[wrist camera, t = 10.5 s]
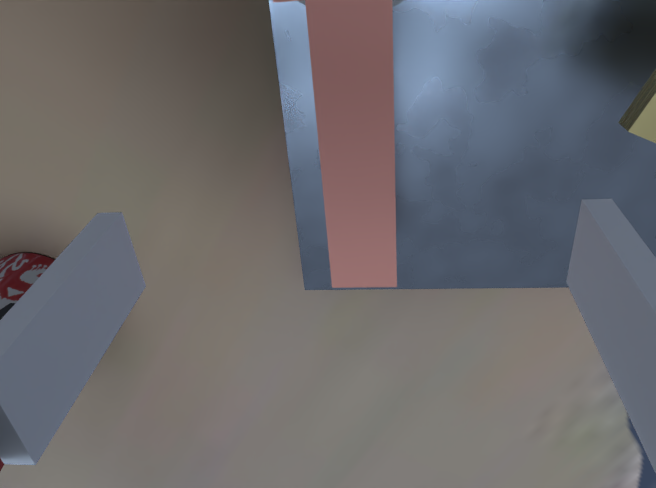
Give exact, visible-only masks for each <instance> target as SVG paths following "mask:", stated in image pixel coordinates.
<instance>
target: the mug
mask: <svg viewBox="0 0 656 488" xmlns="http://www.w3.org/2000/svg"><path fill="white" fill-rule="evenodd" d="M54 261H55V260H54V259H51V258H49V257H46V256H43V255H39V254H34V253H16V254H12V255H9V256H6V257H4V258H2V259H1V260H0V310H1V309H2V308H4V307H5V306H7V305H8V304H10V303H16V302H17V301H18V300H19V299H20V298H21V297H22V296H23V295H24V294H25V292H26V291H27V290H28V289H29V288H30V287H31V286H32V285H33V284H34V283H35V281H36V280H37V279H38V278H39V277H40V276H41V275H42V274H43V273H44V272H45V270H46V269H47V268H48V267H49V266H50V265H51V264H52V263H53V262H54ZM3 466H4V463H3V462H2V460H1V459H0V471H1V469H2V467H3Z"/></svg>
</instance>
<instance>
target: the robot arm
mask: <svg viewBox="0 0 656 488" xmlns="http://www.w3.org/2000/svg"><path fill="white" fill-rule="evenodd" d="M566 282H567V285H568V287H569V289H570V291H571V293H572V295H573V297H574V299H575V302H576V304H577V306H578V308H579V310H580V312H581V314H582V317H583V319H584V321H585V323H586V325H587V327H588V329H589V332H590V334H591V336H592V338H593V340H594V342H595V344H596V347H597V349H598V351H599V353H600V355H601V357H602V359H603V362H604V364H605V366H606V368H607V370H608V372H609V374H610V377H611V379H612V381H613V383H614V385H615V387H616V389H617V392H618V394H619V396H620V398H621V400H622V402H623V404H624V406H625V409H626V411H627V413H628V415H629V417H630V419H631V421H632V424H633V426H634V428H635V430H636V432H637V434H638V436H639V439H640V441H641V443H642V445H643V447H644V449H645V451H646V454H647V456H648V458H649V460H650V462H651V464H652V466H653V468H654V471H655V473H656V257H655V256H654V255H653V253H652V252H651V251H650V249H649V248H648V247H647V245H646V244H645V243H644V241H643V240H642V239H641V237H640V236H639V235H638V233H637V232H636V231H635V229H634V228H633V227H632V225H631V224H630V223H629V221H628V220H627V219H626V217H625V216H624V214H623V213H622V212H621V210H620V209H619V208H618V206H617V205H616V204H615V202H614V201H613V200H612V199H582V201H581V206H580V212H579V217H578V222H577V227H576V233H575V238H574V243H573V248H572V254H571V259H570V264H569V269H568V275H567V280H566ZM145 287H146V285H145V282H144V279H143V276H142V273H141V270H140V266H139V263H138V260H137V257H136V254H135V251H134V248H133V245H132V242H131V239H130V235H129V232H128V229H127V226H126V223H125V220H124V217H123V214H122V212H115V213H97V215H96V216H95V217H94V218H93V219H92V220H91V221H90V222H89V223H88V224H87V225H86V227H85V228H84V229H83V230H82V231H81V232H80V233H79V234H78V235H77V236H76V238H75V239H74V240H73V241H72V242H71V243H70V244H69V245H68V246H67V247H66V249H65V250H64V251H63V252H62V253H61V254H60V255H59V256H58V257H57V258H56V260H55V261H54V262H53V263H52V264H51V265H50V266H49V267H48V268H47V269H46V270H45V272H44V273H43V274H42V275H41V276H40V277H39V278H38V279H37V280H36V281H35V283H34V284H33V285H32V286H31V287H30V288H29V289H28V290H27V291H26V292H25V294H24V295H23V296H22V297H21V298H20V299H19V300H18V301H17V302H16V303H10V304H8V305H7V306H5V307H4V308H2V309H1V310H0V459H1V460H2V462H3V463H4V464H20V465H36V463H37V462H38V460H39V459H40V457H41V455H42V454H43V452H44V450H45V449H46V447H47V446H48V444H49V442H50V441H51V439H52V438H53V436H54V434H55V433H56V431H57V429H58V428H59V426H60V425H61V423H62V421H63V420H64V418H65V416H66V415H67V413H68V412H69V410H70V408H71V407H72V405H73V403H74V402H75V400H76V399H77V397H78V395H79V394H80V392H81V391H82V389H83V387H84V386H85V384H86V382H87V381H88V379H89V378H90V376H91V374H92V373H93V371H94V369H95V368H96V366H97V365H98V363H99V361H100V360H101V358H102V356H103V355H104V353H105V352H106V350H107V348H108V347H109V345H110V343H111V342H112V340H113V339H114V337H115V335H116V334H117V332H118V331H119V329H120V327H121V326H122V324H123V322H124V321H125V319H126V318H127V316H128V314H129V313H130V311H131V309H132V308H133V306H134V305H135V303H136V301H137V300H138V298H139V296H140V295H141V293H142V292H143V290H144V288H145Z"/></svg>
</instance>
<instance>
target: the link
mask: <svg viewBox="0 0 656 488" xmlns="http://www.w3.org/2000/svg"><path fill="white" fill-rule="evenodd" d="M287 1H301V0H273V3H274V2H287ZM305 5H306V16H307V26H308V37H309V48H310V58H311V69H312V80H313V90H314V101H315V111H316V122H317V133H318V143H319V154H320V165H321V175H322V186H323V197H324V207H325V218H326V228H327V239H328V250H329V260H330V271H331V282H332V288H354V287H397V261H396V199H395V136H394V74H393V12H392V0H305Z"/></svg>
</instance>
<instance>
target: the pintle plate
mask: <svg viewBox="0 0 656 488" xmlns="http://www.w3.org/2000/svg"><path fill="white" fill-rule="evenodd" d="M269 7H270V15H271V23H272V31H273V39H274V47H275V55H276V63H277V71H278V79H279V87H280V95H281V103H282V111H283V119H284V127H285V135H286V143H287V151H288V159H289V167H290V175H291V183H292V191H293V199H294V207H295V215H296V223H297V231H298V239H299V247H300V255H301V263H302V271H303V279H304V287H305V290H346V289H449V288H552V287H568V285H567V282H566V280H567V275H568V269H569V264H570V259H571V254H572V248H573V243H574V238H575V233H576V227H577V222H578V217H579V212H580V206H581V201H582V199H612V200H613V201H614V202H615V204H616V205H617V206H618V208H619V209H620V210H621V212H622V213H623V214H624V216H625V217H626V219H627V220H628V221H629V223H630V224H631V225H632V227H633V228H634V229H635V231H636V232H637V233H638V235H639V236H640V237H641V239H642V240H643V241H644V243H645V244H646V245H647V247H648V248H649V249H650V251H651V252H652V253H653V255H654V256H655V257H656V143H654V142H652V141H649V140H647V139H644V138H642V137H640V136H637V135H635V134H633V133H630V132H628V131H627V130H626V129H625V128H624V127H622V126H621V125H620V124H619V123H618V122H619V121H620V119H621V118H622V116H623V115H624V113H625V112H626V111H627V109H628V108H629V106H630V105H631V103H632V102H633V100H634V99H635V98H636V96H637V95H638V93H639V92H640V90H641V89H642V88H643V86H644V85H645V83H646V82H647V80H648V79H649V78H650V76H651V75H652V73H653V72H654V70H655V69H656V0H392V12H393V74H394V136H395V199H396V261H397V287H354V288H332V282H331V271H330V260H329V250H328V239H327V228H326V218H325V207H324V197H323V186H322V175H321V165H320V154H319V143H318V133H317V122H316V111H315V101H314V90H313V80H312V69H311V58H310V48H309V37H308V26H307V16H306V5H305V0H301V1H287V2H274V3H273V0H269Z"/></svg>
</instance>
